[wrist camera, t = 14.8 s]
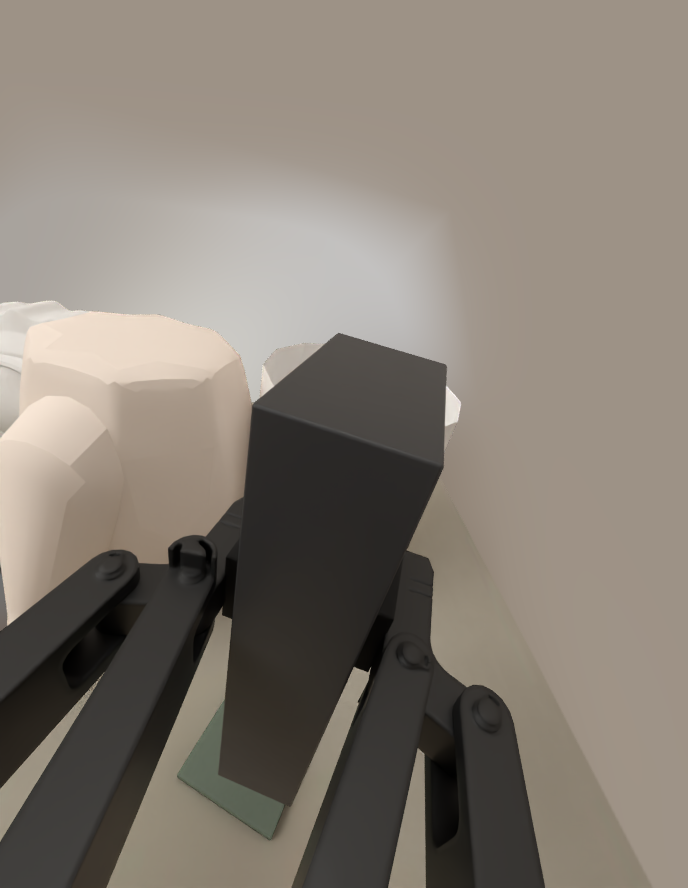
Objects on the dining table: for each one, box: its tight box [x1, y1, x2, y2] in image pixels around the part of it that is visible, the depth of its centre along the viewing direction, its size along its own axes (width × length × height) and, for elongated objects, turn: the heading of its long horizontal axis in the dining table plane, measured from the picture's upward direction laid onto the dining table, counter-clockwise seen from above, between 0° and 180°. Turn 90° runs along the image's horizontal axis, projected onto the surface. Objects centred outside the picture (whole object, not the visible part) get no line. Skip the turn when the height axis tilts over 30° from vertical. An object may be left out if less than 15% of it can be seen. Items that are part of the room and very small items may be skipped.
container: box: [260, 343, 461, 452], centre depth 31 cm, size 14×14×18 cm
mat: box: [177, 699, 285, 840], centre depth 23 cm, size 8×6×1 cm
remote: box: [218, 333, 447, 806], centre depth 12 cm, size 5×3×16 cm, turn 165°
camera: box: [0, 301, 89, 438], centre depth 35 cm, size 11×18×16 cm, turn 83°
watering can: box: [0, 311, 252, 626], centre depth 27 cm, size 16×27×19 cm, turn 169°
